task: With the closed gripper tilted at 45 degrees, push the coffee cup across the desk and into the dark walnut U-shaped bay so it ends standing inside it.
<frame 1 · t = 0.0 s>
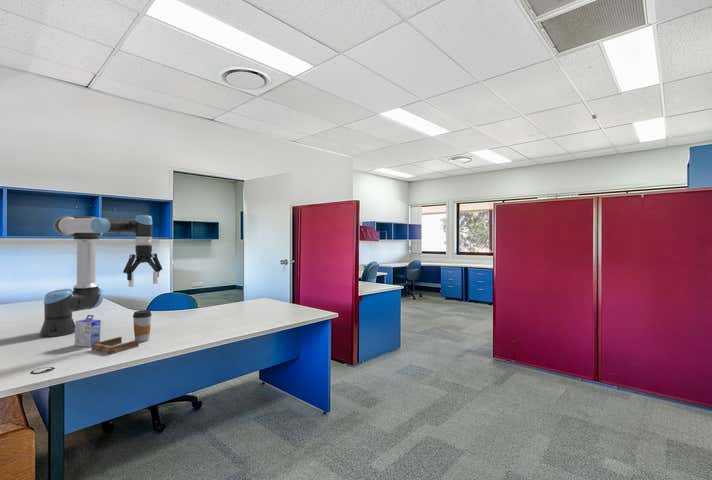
hand: (143, 285, 187), 28 cm above the table, tool pointing down, fingers open, 13 cm apart
coffee cup: (142, 341, 183), on the table
walnut bay: (118, 347, 172), on the table
ink cartridge box: (87, 345, 175), on the table
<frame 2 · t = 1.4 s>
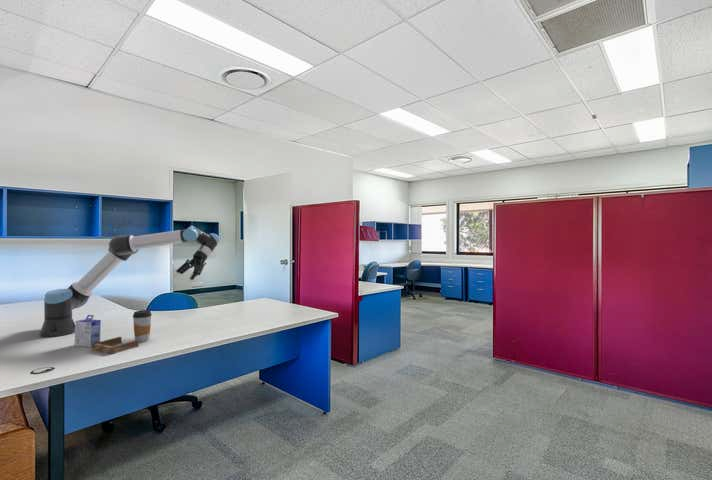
hand: (180, 283, 204), 27 cm above the table, tool tilted 45°, fingers open, 10 cm apart
nothing on the table moved.
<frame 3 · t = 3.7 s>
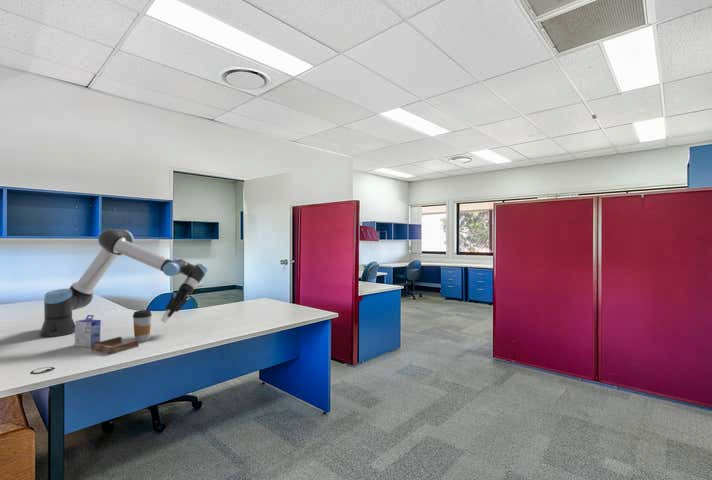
hand: (163, 321, 193), 8 cm above the table, tool tilted 45°, fingers closed
nothing on the table moved.
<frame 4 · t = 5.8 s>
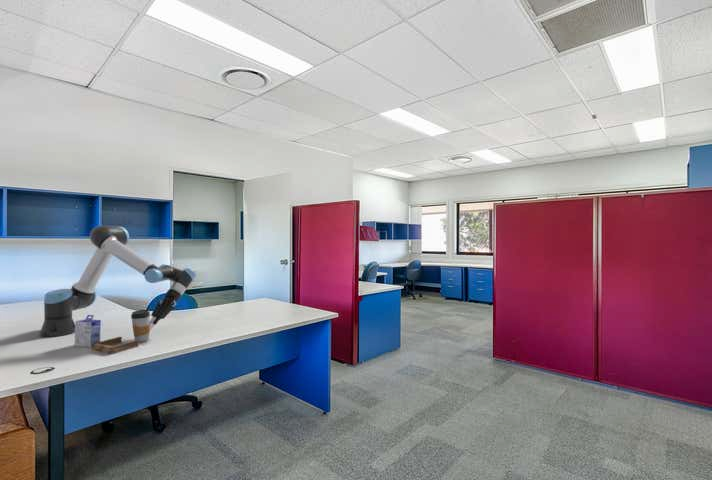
hand: (148, 329, 185), 5 cm above the table, tool tilted 45°, fingers closed
coffee cup: (142, 340, 183), on the table, touching gripper
everything else where it was.
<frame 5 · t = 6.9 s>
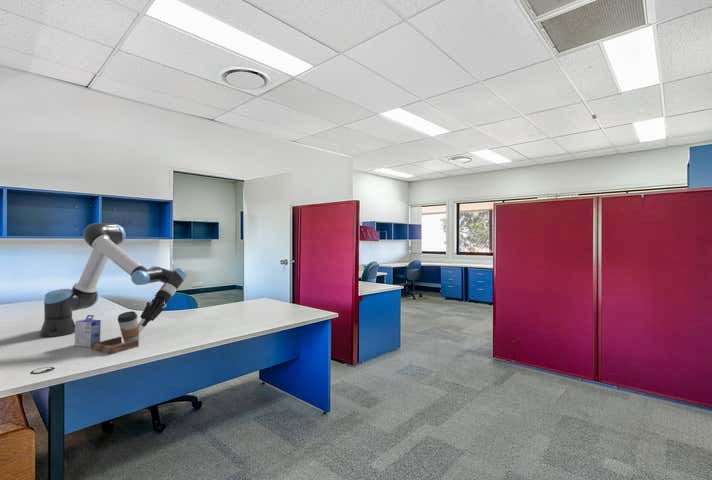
hand: (137, 331, 179), 6 cm above the table, tool tilted 45°, fingers closed
coffee cup: (132, 342, 178), on the table, touching gripper
everything else where it was.
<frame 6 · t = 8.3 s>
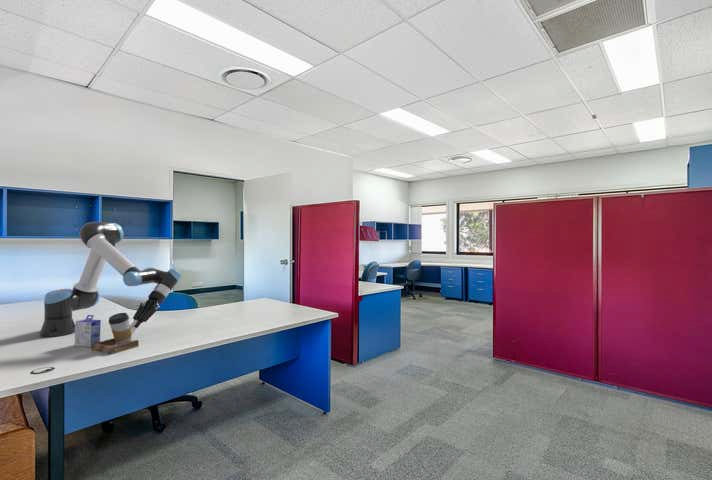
hand: (129, 332, 176), 6 cm above the table, tool tilted 45°, fingers closed
coffee cup: (125, 344, 175), point 1 cm above the table, touching gripper
everything else where it was.
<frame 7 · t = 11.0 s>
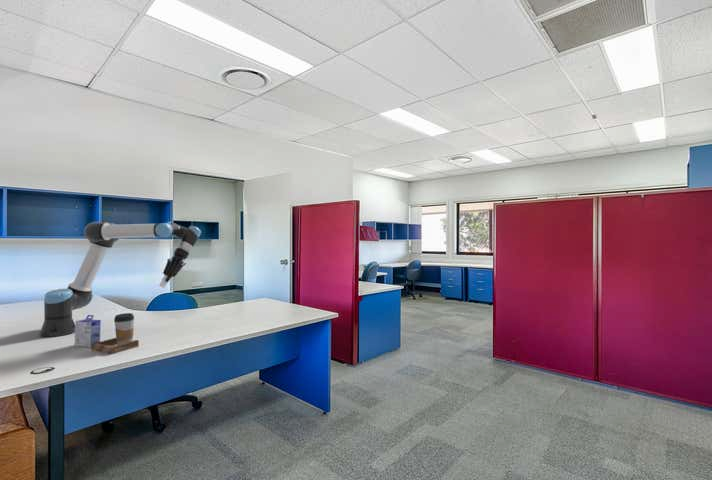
hand: (161, 286, 199), 26 cm above the table, tool tilted 30°, fingers closed
coffee cup: (125, 345, 175), on the table
everything else where it was.
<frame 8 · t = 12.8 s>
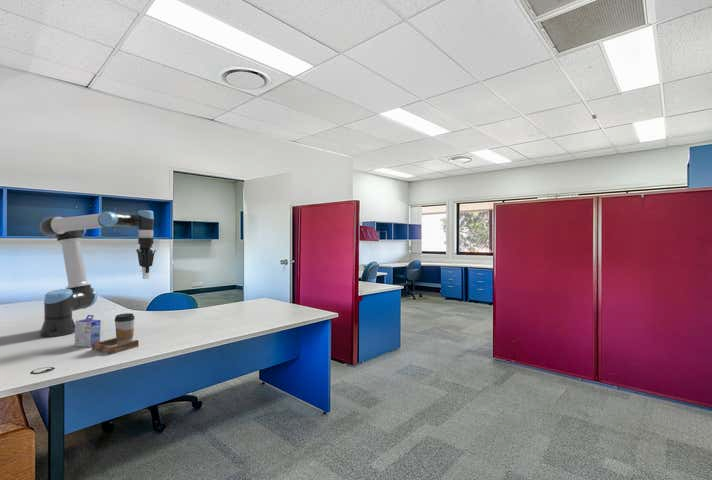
hand: (145, 278, 203), 29 cm above the table, tool pointing down, fingers closed
nothing on the table moved.
at the end: coffee cup inside the target area (2.7 cm from its centre), on the table; coffee cup tilted 1° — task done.
